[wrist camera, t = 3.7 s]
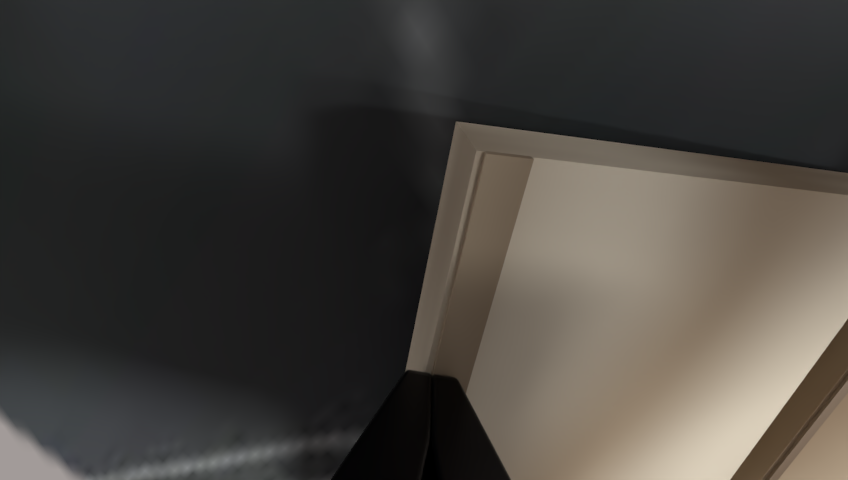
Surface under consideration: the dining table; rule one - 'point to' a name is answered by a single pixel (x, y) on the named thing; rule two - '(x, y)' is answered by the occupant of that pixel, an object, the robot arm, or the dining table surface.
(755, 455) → the laid floor
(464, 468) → the robot arm
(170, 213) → the dining table surface
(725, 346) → the plank
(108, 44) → the dining table surface
